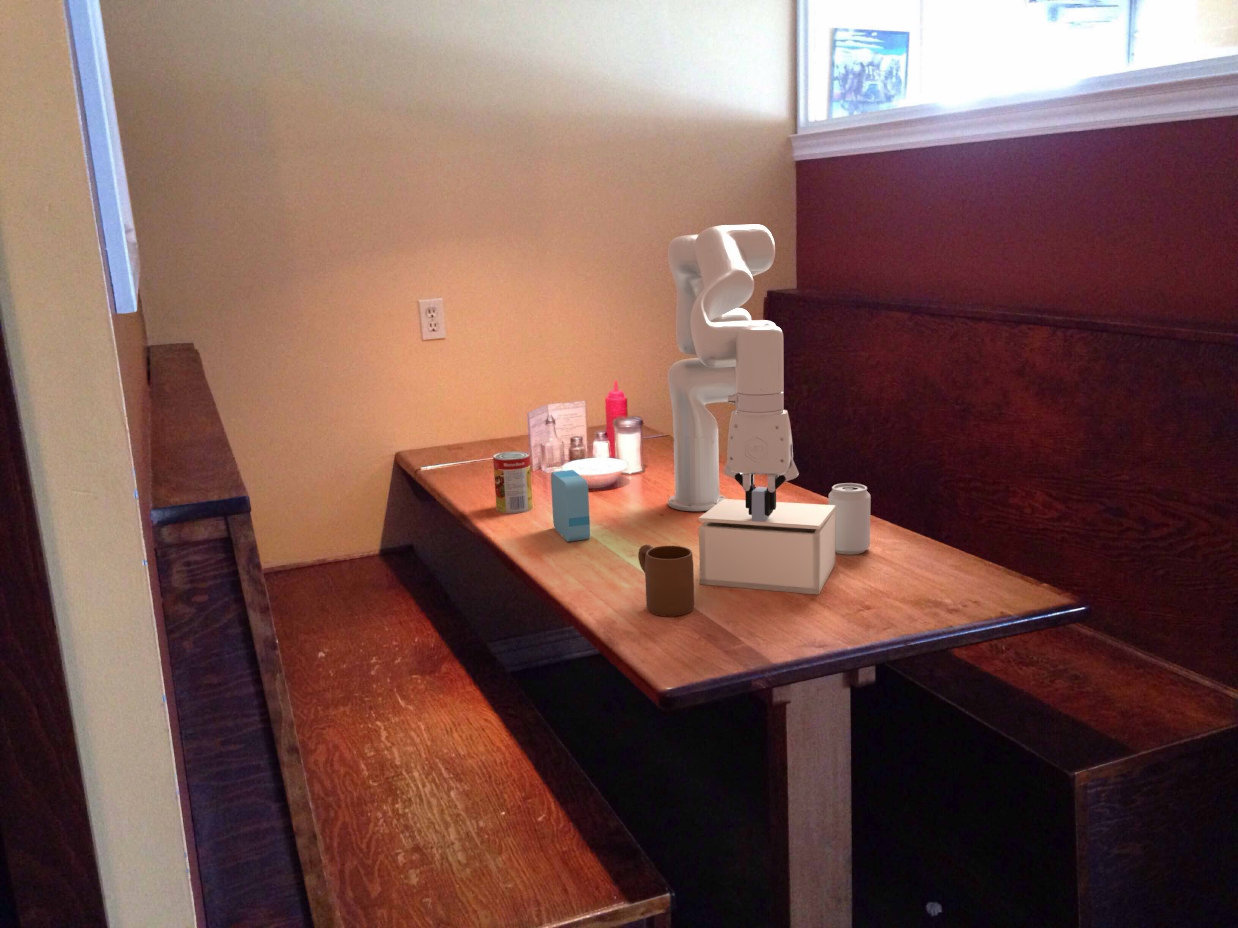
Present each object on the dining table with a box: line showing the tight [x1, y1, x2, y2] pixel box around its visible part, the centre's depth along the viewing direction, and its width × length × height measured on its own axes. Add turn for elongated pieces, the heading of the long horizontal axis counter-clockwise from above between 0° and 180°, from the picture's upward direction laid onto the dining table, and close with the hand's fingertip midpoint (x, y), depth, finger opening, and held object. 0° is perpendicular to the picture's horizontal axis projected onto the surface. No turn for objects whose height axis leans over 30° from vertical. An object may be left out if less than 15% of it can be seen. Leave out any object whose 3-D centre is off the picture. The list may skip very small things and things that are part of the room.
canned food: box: [492, 450, 534, 514], centre depth 228 cm, size 8×8×12 cm
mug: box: [637, 544, 695, 617], centre depth 167 cm, size 12×8×9 cm, turn 32°
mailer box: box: [698, 509, 836, 596], centre depth 179 cm, size 16×20×10 cm
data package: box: [550, 469, 591, 543], centre depth 207 cm, size 12×4×12 cm, turn 18°
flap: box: [698, 486, 836, 529], centre depth 177 cm, size 16×20×6 cm
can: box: [827, 482, 872, 556], centre depth 191 cm, size 8×8×12 cm
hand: (760, 512), depth 172 cm, fingers closed on flap, 2 cm apart
